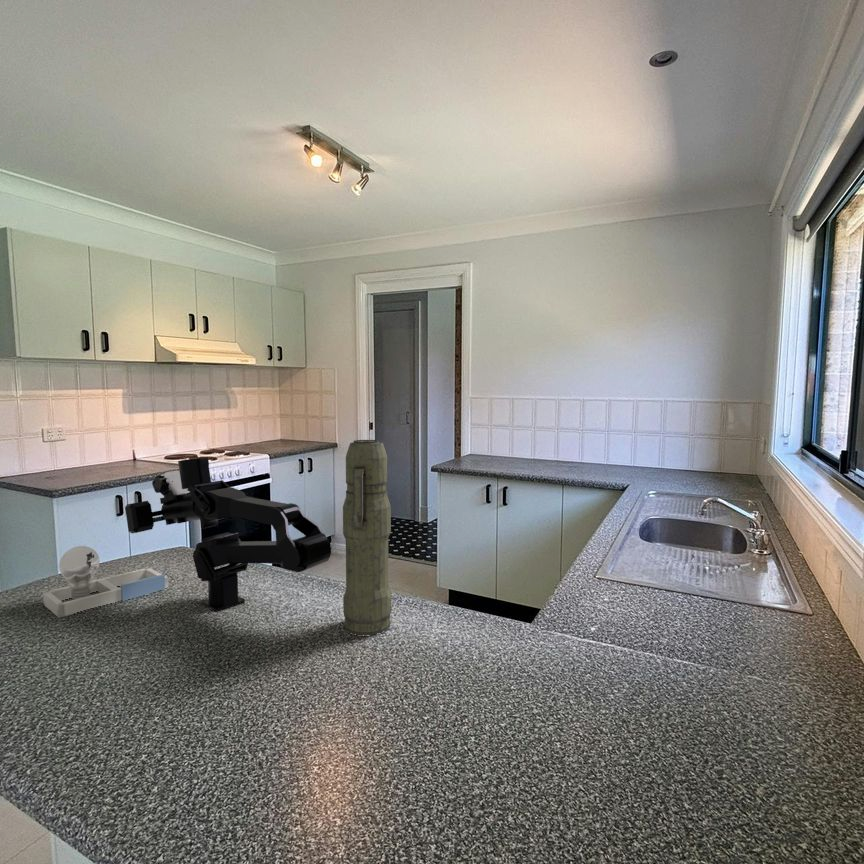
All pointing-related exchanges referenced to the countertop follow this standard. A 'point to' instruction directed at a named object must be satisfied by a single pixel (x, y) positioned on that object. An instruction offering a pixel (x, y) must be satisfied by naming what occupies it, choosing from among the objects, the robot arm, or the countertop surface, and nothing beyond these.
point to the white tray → (106, 591)
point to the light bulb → (79, 569)
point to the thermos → (366, 539)
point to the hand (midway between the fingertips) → (149, 513)
